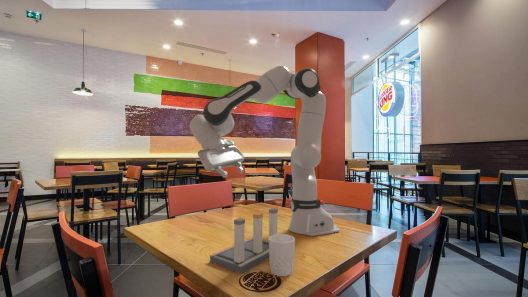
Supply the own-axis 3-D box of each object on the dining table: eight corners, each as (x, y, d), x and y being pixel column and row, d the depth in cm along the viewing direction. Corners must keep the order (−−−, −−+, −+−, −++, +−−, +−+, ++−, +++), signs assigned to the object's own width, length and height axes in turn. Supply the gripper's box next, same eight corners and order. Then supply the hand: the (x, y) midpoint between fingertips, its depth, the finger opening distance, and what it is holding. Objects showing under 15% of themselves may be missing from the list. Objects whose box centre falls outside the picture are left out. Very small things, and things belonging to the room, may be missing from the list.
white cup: (279, 280, 73) (279, 244, 73) (263, 270, 79) (263, 237, 79) (300, 273, 77) (300, 239, 77) (283, 263, 84) (283, 232, 84)
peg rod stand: (210, 261, 85) (210, 215, 85) (253, 242, 102) (253, 204, 102) (240, 273, 77) (241, 222, 77) (281, 250, 94) (282, 209, 94)
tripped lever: (252, 252, 86) (252, 214, 87) (257, 249, 89) (257, 212, 89) (257, 253, 85) (258, 215, 85) (262, 251, 87) (262, 213, 87)
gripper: (199, 145, 97) (219, 174, 92) (235, 140, 113) (254, 164, 109) (192, 156, 100) (211, 184, 95) (228, 150, 116) (245, 174, 112)
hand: (234, 174), depth 102 cm, fingers open, 8 cm apart
